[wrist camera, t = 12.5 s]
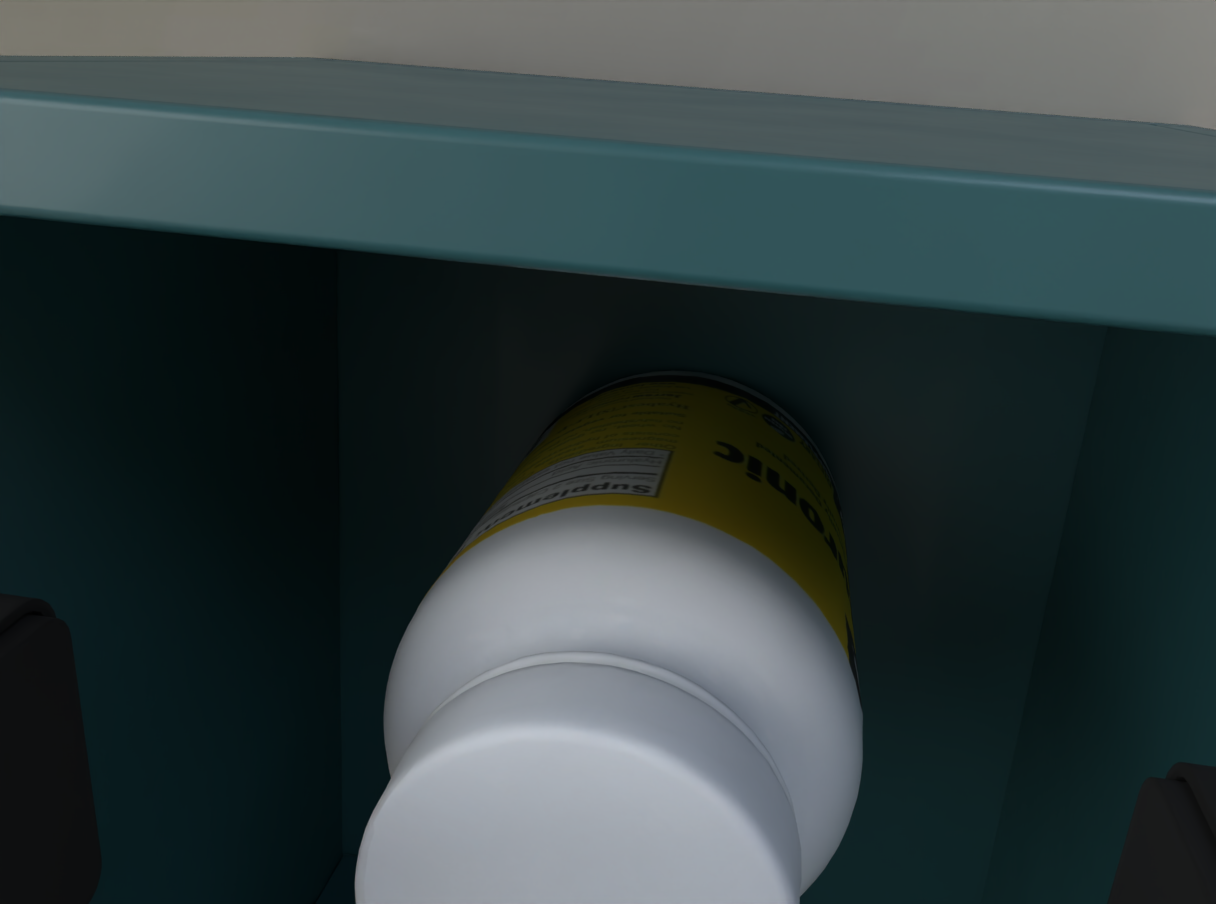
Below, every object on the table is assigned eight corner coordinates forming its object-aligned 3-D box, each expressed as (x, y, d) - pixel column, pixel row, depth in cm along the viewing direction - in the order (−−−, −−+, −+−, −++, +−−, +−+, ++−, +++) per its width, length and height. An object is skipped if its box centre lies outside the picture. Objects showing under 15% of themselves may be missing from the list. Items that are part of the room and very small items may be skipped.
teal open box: (307, 56, 18) (-433, 53, 7) (1192, 125, 17) (1940, 254, 6) (322, 852, 24) (-102, 1540, 13) (998, 970, 22) (1188, 1890, 11)
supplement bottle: (886, 618, 19) (958, 1133, 10) (587, 692, 20) (409, 1201, 11) (787, 315, 18) (765, 585, 9) (474, 416, 19) (167, 740, 10)
